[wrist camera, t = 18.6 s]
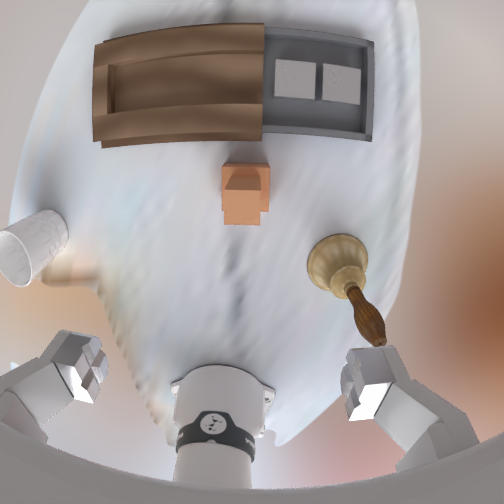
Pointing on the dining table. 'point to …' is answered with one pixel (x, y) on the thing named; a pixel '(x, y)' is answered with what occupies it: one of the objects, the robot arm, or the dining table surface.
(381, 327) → the hand bell
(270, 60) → the tray
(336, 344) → the dining table surface
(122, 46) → the slot board
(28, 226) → the white cup
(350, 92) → the grey square block
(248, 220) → the stepped wedge block
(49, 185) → the dining table surface
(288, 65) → the light grey block
